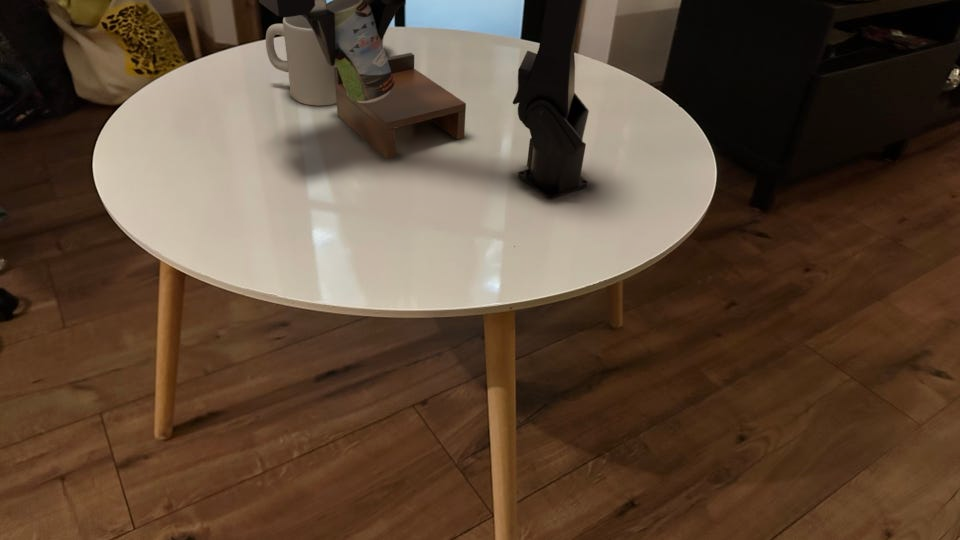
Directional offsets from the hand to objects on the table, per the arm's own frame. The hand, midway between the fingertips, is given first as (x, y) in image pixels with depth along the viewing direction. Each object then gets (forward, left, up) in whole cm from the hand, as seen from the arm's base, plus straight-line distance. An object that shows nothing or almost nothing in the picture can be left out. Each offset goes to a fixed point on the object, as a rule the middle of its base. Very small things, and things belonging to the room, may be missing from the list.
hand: (351, 60), depth 83 cm
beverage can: (0, -2, -5) cm, 5 cm away
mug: (+19, -2, -12) cm, 22 cm away
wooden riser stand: (+3, -8, -12) cm, 15 cm away
